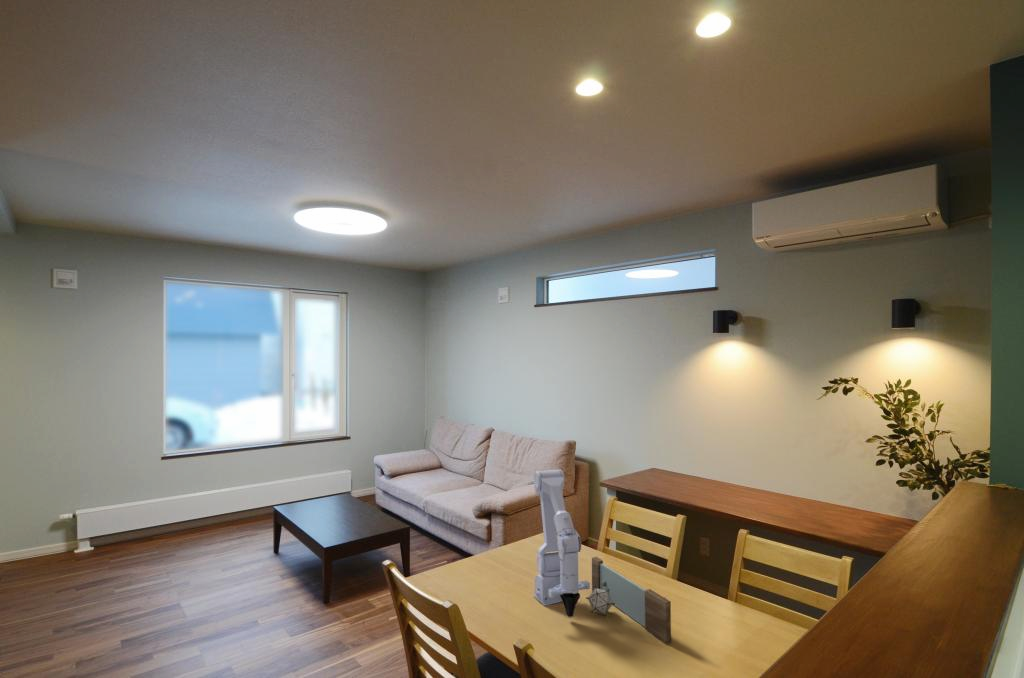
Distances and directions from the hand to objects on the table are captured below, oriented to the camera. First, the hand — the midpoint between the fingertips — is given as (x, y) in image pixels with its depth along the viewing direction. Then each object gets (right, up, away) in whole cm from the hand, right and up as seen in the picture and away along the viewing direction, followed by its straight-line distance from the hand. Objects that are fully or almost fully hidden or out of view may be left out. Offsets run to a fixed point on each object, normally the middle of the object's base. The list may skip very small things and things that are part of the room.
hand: (569, 615), depth 163 cm
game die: (+11, -2, +5) cm, 12 cm away
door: (+18, -2, +6) cm, 19 cm away
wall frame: (+20, -2, +4) cm, 20 cm away
